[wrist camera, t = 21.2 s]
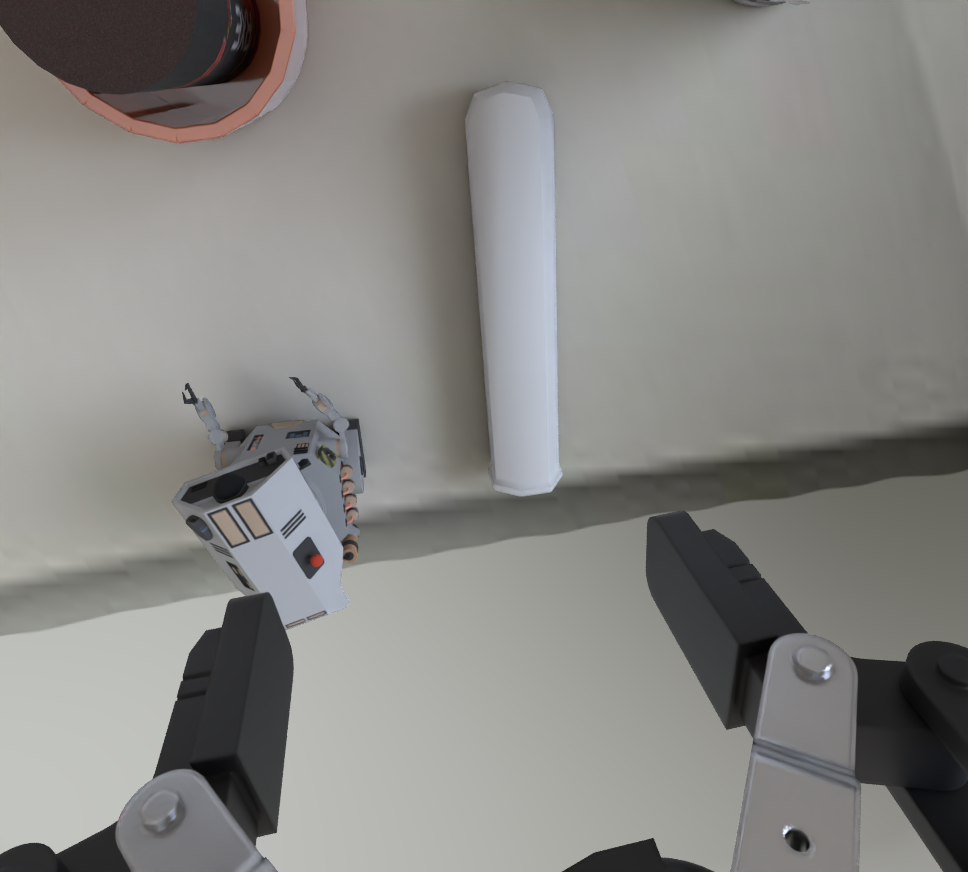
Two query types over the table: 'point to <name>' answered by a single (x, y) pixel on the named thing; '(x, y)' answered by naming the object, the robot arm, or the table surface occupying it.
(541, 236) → the tube
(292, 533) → the figurine
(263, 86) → the cup
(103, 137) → the table surface
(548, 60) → the table surface
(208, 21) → the deodorant
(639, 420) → the table surface
